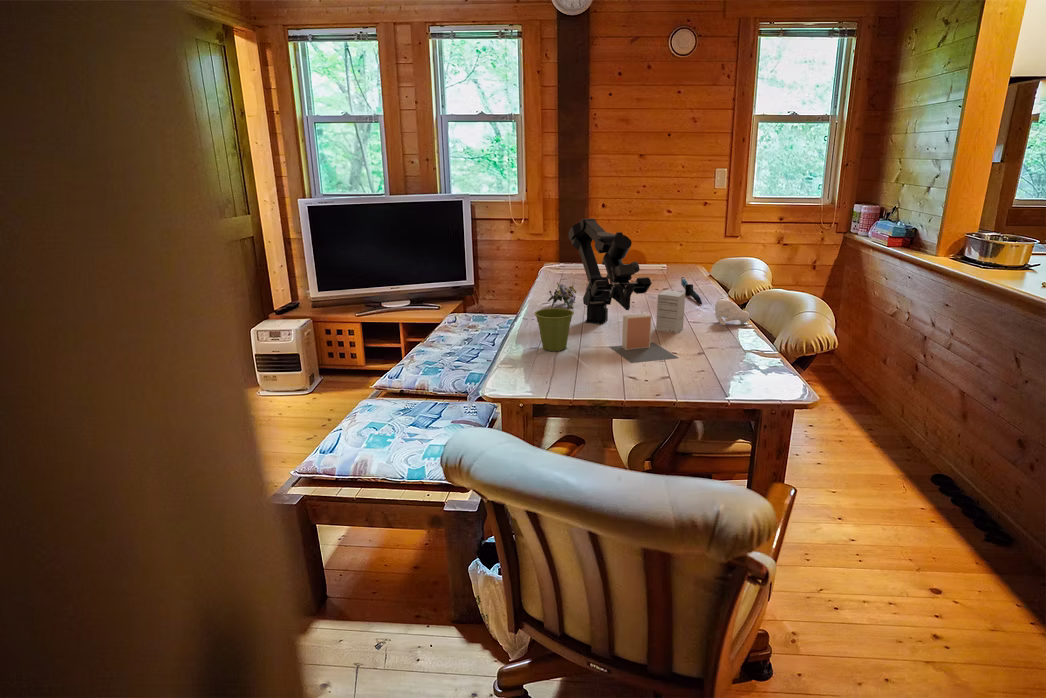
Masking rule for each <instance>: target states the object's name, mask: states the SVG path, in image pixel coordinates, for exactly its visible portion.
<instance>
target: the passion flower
mask: <svg viewBox="0 0 1046 698" xmlns="http://www.w3.org/2000/svg"><path fill="white" fill-rule="evenodd" d="M556 284H557V287H558V288H559V290H558V289H557V288H556V289H554V290H555V291H554V292H553V294H552V290H549V291H548V293H549V294H550V297H549V298H548V300H547V302H550V301H551V300H552V303H551V304H552V305H551V308H554V306H555V305H554V304H556V303H557V302H558V301H560V302H562V301H563V302H564V305H567V307H568V308H570V309H574V308H575V307H574V304H575V303H576V298H577V296H576V294H577V290H576V289H575V288H574V285H569V286H567V285H564V284H563V283H559V282H556Z"/></svg>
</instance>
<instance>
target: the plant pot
mask: <svg viewBox="0 0 1046 698" xmlns="http://www.w3.org/2000/svg"><path fill="white" fill-rule="evenodd" d="M574 313H575V312H574V311H573V310H571V309H568V308H560V307H558V308H557V307H556V308H555V307H551V308H542V309H539V310H536V311H535V312H534V316H535V317H536V321H537V323H538V328H539V333H540V340H541V345H542V349H543V350H546V351H549V352H561V351H562V350H566V349H567V345H568V338H569V334H570V326H571V322H572V317H573V316H574Z"/></svg>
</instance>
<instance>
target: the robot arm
mask: <svg viewBox="0 0 1046 698" xmlns="http://www.w3.org/2000/svg"><path fill="white" fill-rule="evenodd" d="M568 239H569V240H570V243H571V245H572V246H573V247H574V248H575V249H576V250H578V252H579V256H580V259H581V262H582V266H583V268H584V272H585V276H586V278H587V281H588V283H587V285H586V289H585V290H586V291H585V293H584V295H583V297H582V302H583V304H584V305H585V306H586V320H585V321H584V322H585V323H591V324H601V325H603V324H604V323H606V322H607V321H608V320H609V318H608V317H609V316H608V315H609V308H607V306H609V305H611V303H612V299H613V300H614V301H616V302H617V304H619V305H620V306H621V307H623V309H624V310H625V311H629V310H630V309H631V296H632V294H633V293H634V294H635V295H639V294H641V295H642V294H645V293H647V291H648V290H649V288H650V287H651V286H652V284H653V283H652V280H651V278H650V277H648V276H644V277H643V276H642V277H641V276H639V277H637V278H636V280H635V281H631V280H632V278H633V277H632V276H633V275H635V274H637V273H639V272H640V265H639V262H638V261H632V262H630V263H623V259H625V258H626V256H627V254H628V252H629V250H630V248H631V247H632V240H631V238H629V237H628V236H627V235H625V234H623V232H621V231H619V232H618V231H617V232H615V233H611V232H607V231H606V230H605V229H604V228H603V227H601V225H599V224H598V222H597V220H596V219H595V218H582V219H580V221H579V222H577V223H575V224H574V225H572V226H571V228H570V229H569V231H568ZM592 241H593V242H594V248H595V250H596V251H597V253H598V254H604V255H603V257H602V261H601V265H602V266H605V270H606V274H607V275H606V276H602V274H601V271H600V268H599V265H598V261H597V258H596V255H595V252H594V250H593V247H592V246H593V245H592ZM630 281H631V282H630Z"/></svg>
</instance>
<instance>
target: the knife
mask: <svg viewBox="0 0 1046 698" xmlns="http://www.w3.org/2000/svg"><path fill="white" fill-rule="evenodd" d="M680 284H681V286H682V287H683V289H684V292H685V296H691V298H692V299H693V300H694V301H695V300H696V301H697V302H696V303H697V304H698V305H700V304H701V306H702V305H703V301H702V299H701V296H700V295H699V294H698V293H697V292H696V291H695V290H694V285H693V284H689V283H688V281H687V280H686V278H685V276H683V277H681V278H680Z"/></svg>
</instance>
